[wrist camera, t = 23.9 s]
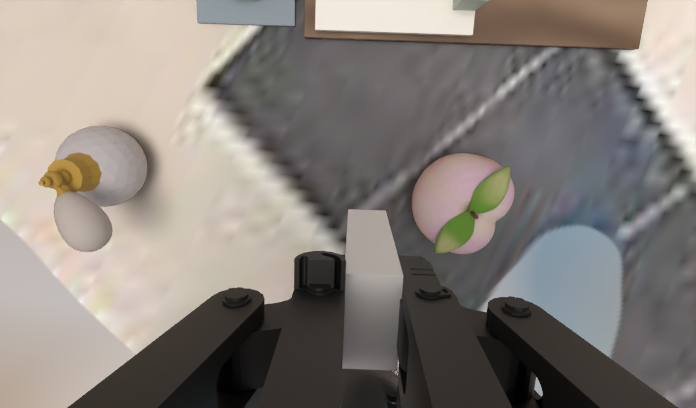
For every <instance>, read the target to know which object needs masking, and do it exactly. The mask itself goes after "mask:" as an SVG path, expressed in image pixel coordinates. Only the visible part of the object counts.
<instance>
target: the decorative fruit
mask: <svg viewBox="0 0 696 408" xmlns="http://www.w3.org/2000/svg"><path fill="white" fill-rule="evenodd" d="M514 194H515V192H514V185H513V182H512V179H511V177H510V167H509V166H507V167H504V168H503V167H502V166H501V165H500V164H498V163H497V162H495V161H493V160H492V159H489V158H487V157H483V156H480V155H475V154H469V153H456V154H451V155H447V156H444V157H442V158H440V159H438V160H436V161H435V162H433V163H432V164H430V165H429V166H428V167H427V168H426V169H425V170H424V171H423V173H422V174H421V176H420V177H419V179H418V181H417V183H416V185H415V187H414V191H413V196H412V211H413V216H414V219H415V222H416V224H417V226H418V228H419V229H420V231H421V232H422V233H423V234H424V235H425V236H426V237H427V238H428V239H429V240H430V241H432V242H433V243H434V244H435V250H434V252H435V253H436V254H437V253H447V252H452V253H457V254H469V253H474V252H476V251H478V250H480V249H482V248H483V247H484V246H486V245H487V244H488V243H489V241H490V240H491V238H492V236H493V234H494V231H495V222H496V221H497V220H498V219H500V218H502V217H503V216H504V215H505V214H506V213H507V212H508V211H509V209H510V207H511V206H512V203H513V200H514Z"/></svg>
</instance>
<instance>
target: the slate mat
mask: <svg viewBox="0 0 696 408" xmlns="http://www.w3.org/2000/svg"><path fill="white" fill-rule="evenodd" d="M197 21H198V23H208V24H236V25H265V26H293V27H295V0H197Z"/></svg>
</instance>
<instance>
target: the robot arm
mask: <svg viewBox="0 0 696 408" xmlns="http://www.w3.org/2000/svg"><path fill="white" fill-rule="evenodd" d="M398 359H399V373H398V377H397V376H396V375H395V374H393V373H392V372H391V371H397V360H398ZM389 370H391V371H389ZM536 377H537V378H538V380H539V382H540V384H541V387H542V391H543V396H542V397H541V396H540V395H539V394H538V393H537V392H536V391H535V390H534V386H535V380H536ZM68 408H678V407H676V406H675V405H674V404H672V403H671V402H669V401H668V400H667V399H665V398H664V397H663V396H661V395H660V394H658V393H657V392H656V391H654V390H653V389H652V388H650V387H649V386H647V385H646V384H645V383H643V382H642V381H641V380H639V379H638V378H636V377H635V376H634V375H632V374H631V373H630V372H628V371H627V370H625V369H624V368H623V367H621V366H620V365H618V364H617V363H616V362H614V361H613V360H612V359H610V358H609V357H607V356H606V355H605V354H603V353H602V352H601V351H599V350H598V349H596V348H595V347H594V346H592V345H591V344H590V343H588V342H587V341H585V340H584V339H583V338H581V337H580V336H579V335H577V334H576V333H574V332H573V331H572V330H570V329H569V328H568V327H566V326H565V325H563V324H562V323H561V322H559V321H558V320H557V319H555V318H553V317H552V316H551V315H550V314H548V313H547V312H546V311H544V310H543V309H541V308H540V307H538V306H536V305H535V304H533V303H531V302H528V301H525V300H523V299H521V298H515V297H500V298H495V299H492V300H491V301H489V302H488V309H487V313H486V312H481V311H476V310H471V309H467V308H464V307H461V305H460V303H459V301H458V299H457V297H456V295H455V294H454V293H453V292H452V291H451V290H449V289H448V288H445V287H443V286H440V283H439V281H438V279H437V277H436V276H435V272H434V270H433V268H432V266H431V264H430V262H428V261H427V260H425V259H424V258H422V257H416V256H398V254H397V250H396V247H395V243H394V239H393V236H392V232H391V228H390V225H389V221H388V217H387V214H386V211H382V210H356V209H348V221H347V237H346V253H345V255H340V254H337V253H333V252H326V251H312V252H306V253H303V254H300V255H298V256H297V257H296V258H295V260H294V291H293V295H292V298H291V299H289V300H287V301H283V302H279V303H273V304H265V305H264V297H263V294H261V293H260V292H258V291H256V290H252V289H243V288H236V289H235V288H230V289H228V290H225V291H222V292H219V293H217V294H215V295H213V296H212V297H211V298H209V299H208V300H207V301H205V302H204V303H203V304H201V305H200V306H199V307H198V308H196V309H195V310H194V311H192V312H191V313H190V314H188V315H187V316H186V317H185V318H183V319H182V320H181V321H179V322H178V323H177V324H176V325H174V326H173V327H172V328H170V329H169V330H168V331H166V332H165V333H164V334H163V335H161V336H160V337H159V338H157V339H156V340H155V341H153V342H152V343H151V344H150V345H148V346H147V347H146V348H144V349H143V350H142V351H140V352H139V353H138V354H137V355H135V356H134V357H133V358H131V359H130V360H129V361H127V362H126V363H125V364H124V365H122V366H121V367H120V368H118V369H117V370H116V371H115V372H113V373H112V374H111V375H109V376H108V377H107V378H105V379H104V380H103V381H102V382H100V383H99V384H98V385H96V386H95V387H94V388H93V389H91V390H90V391H88V392H87V393H86V394H85V395H83V396H82V397H81V398H80V399H78V400H77V401H76V402H75V403H73V404H72V405H70V406H69V407H68Z"/></svg>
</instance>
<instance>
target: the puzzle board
mask: <svg viewBox="0 0 696 408" xmlns="http://www.w3.org/2000/svg"><path fill="white" fill-rule="evenodd" d="M647 1H648V0H489V1H488V2H486V3H485V4H484V5H482V6H481V7H480V8H478V9H477V10H476V11H475V18H474V29H473V35H472V36H447V35H418V34H390V33H361V32H333V31H316V30H315V7H316V0H305V36H304V37H305V38H311V39H339V40H368V41H396V42H424V43H453V44H481V45H509V46H538V47H566V48H594V49H623V50H634V49H639V44H640V39H641V33H642V28H643V23H644V17H645V12H646V6H647Z"/></svg>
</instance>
